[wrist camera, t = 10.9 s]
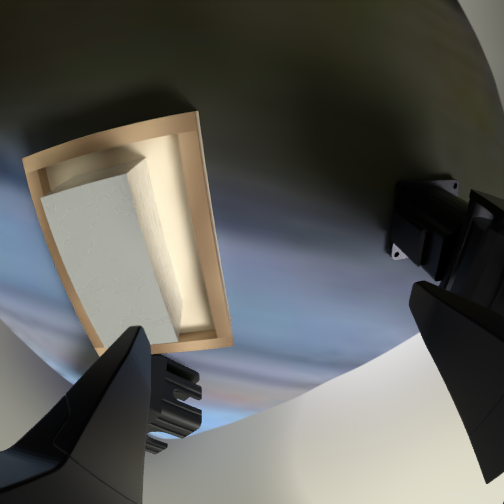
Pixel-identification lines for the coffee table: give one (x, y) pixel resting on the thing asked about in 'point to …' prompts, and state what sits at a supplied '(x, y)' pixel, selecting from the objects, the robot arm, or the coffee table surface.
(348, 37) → the coffee table surface
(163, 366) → the end cap
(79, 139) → the beech stand
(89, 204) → the block
